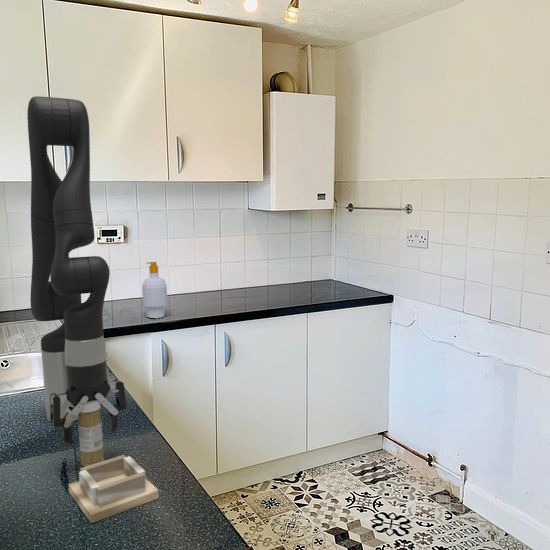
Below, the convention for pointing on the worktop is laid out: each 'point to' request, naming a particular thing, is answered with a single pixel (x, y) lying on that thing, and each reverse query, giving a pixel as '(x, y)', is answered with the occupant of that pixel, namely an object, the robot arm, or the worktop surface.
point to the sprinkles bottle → (90, 433)
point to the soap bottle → (154, 293)
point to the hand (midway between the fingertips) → (91, 437)
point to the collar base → (112, 488)
